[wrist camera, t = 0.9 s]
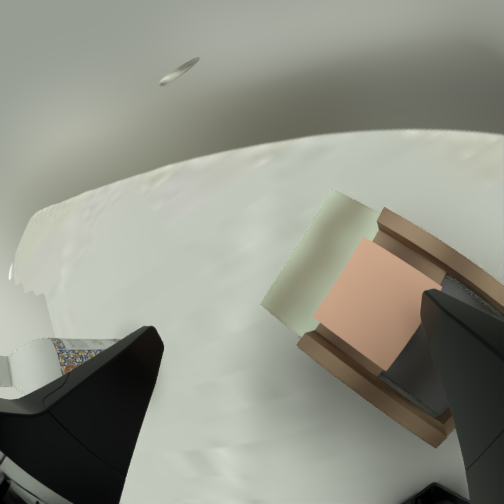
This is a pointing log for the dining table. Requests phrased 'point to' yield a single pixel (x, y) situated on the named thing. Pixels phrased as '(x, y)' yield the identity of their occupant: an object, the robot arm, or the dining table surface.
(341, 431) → the dining table surface
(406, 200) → the dining table surface
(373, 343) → the block
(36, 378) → the bath foam
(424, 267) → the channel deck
